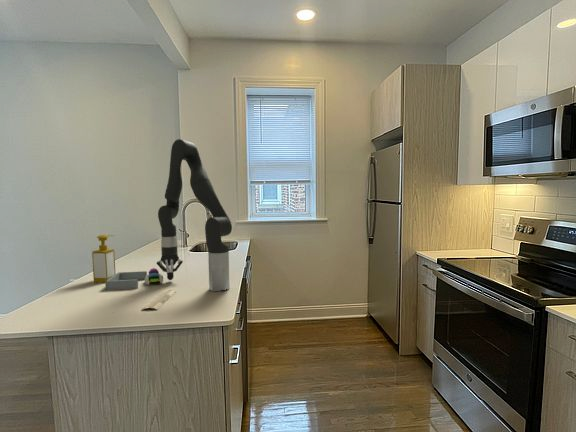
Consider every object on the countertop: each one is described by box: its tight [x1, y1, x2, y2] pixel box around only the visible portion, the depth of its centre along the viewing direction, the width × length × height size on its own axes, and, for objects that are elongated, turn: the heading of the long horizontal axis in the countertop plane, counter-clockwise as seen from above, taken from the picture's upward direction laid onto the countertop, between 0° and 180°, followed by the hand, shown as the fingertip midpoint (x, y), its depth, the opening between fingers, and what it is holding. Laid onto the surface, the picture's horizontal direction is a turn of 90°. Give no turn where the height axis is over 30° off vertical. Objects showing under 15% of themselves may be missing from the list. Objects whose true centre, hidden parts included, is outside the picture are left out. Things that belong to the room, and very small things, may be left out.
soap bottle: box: [91, 234, 117, 284], centre depth 179 cm, size 7×13×24 cm, turn 174°
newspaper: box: [141, 289, 177, 311], centre depth 144 cm, size 24×7×2 cm, turn 1°
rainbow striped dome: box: [144, 267, 164, 286], centre depth 172 cm, size 8×10×7 cm
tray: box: [104, 270, 148, 291], centre depth 170 cm, size 18×14×4 cm
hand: (170, 279), depth 173 cm, fingers closed
